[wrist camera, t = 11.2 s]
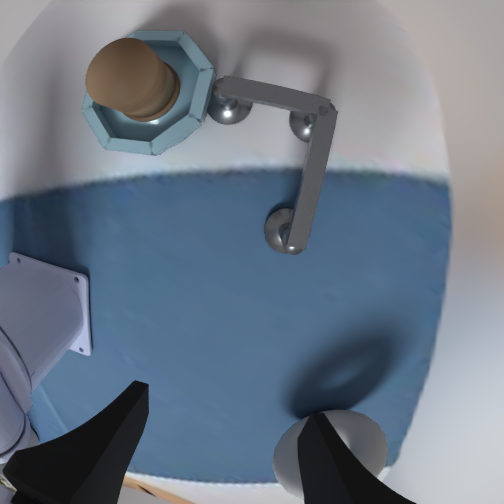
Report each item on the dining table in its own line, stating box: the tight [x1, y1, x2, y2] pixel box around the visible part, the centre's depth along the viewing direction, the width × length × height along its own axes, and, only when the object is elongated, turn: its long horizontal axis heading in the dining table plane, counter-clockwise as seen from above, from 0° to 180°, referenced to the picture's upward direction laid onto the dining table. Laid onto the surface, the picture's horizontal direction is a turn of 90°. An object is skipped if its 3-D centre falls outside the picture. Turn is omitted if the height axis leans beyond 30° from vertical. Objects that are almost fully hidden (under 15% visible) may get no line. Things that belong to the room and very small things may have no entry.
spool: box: [86, 38, 180, 122], centre depth 14 cm, size 4×4×5 cm
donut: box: [272, 410, 388, 500], centre depth 20 cm, size 10×4×10 cm, turn 105°
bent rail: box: [207, 76, 338, 255], centre depth 16 cm, size 8×10×4 cm
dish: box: [82, 30, 216, 156], centre depth 16 cm, size 9×9×2 cm
